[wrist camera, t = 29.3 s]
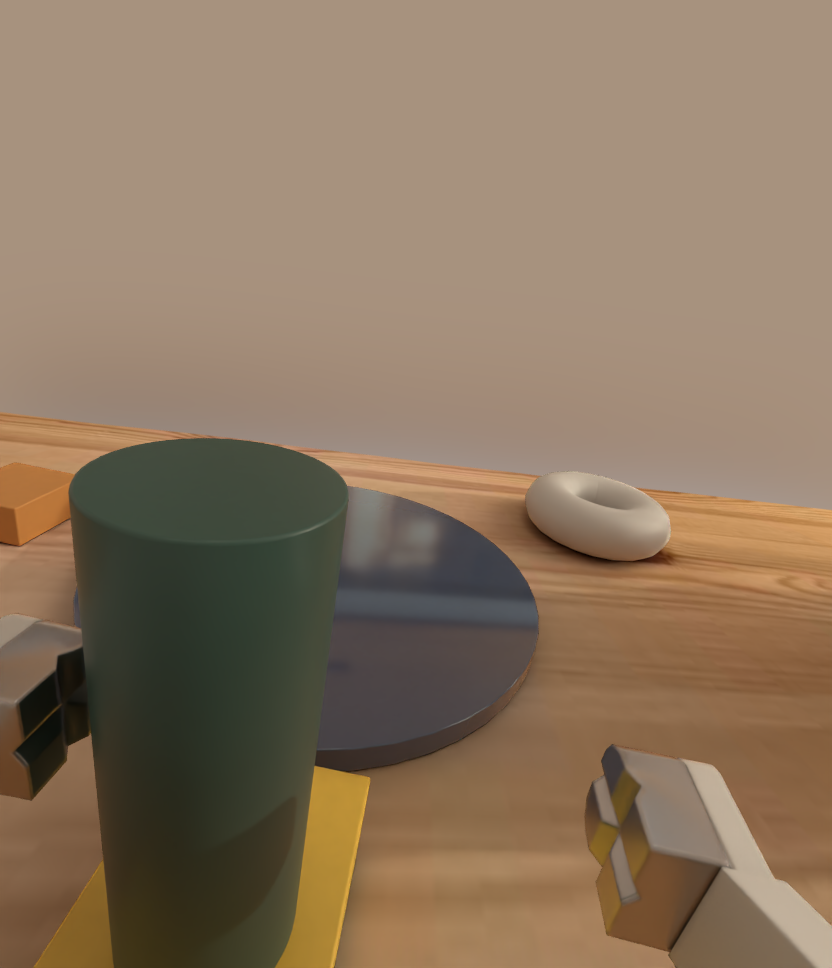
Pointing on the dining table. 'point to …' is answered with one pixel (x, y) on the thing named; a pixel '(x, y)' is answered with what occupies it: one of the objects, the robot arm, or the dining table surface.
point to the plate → (417, 634)
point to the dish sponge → (210, 709)
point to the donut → (597, 516)
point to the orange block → (31, 501)
